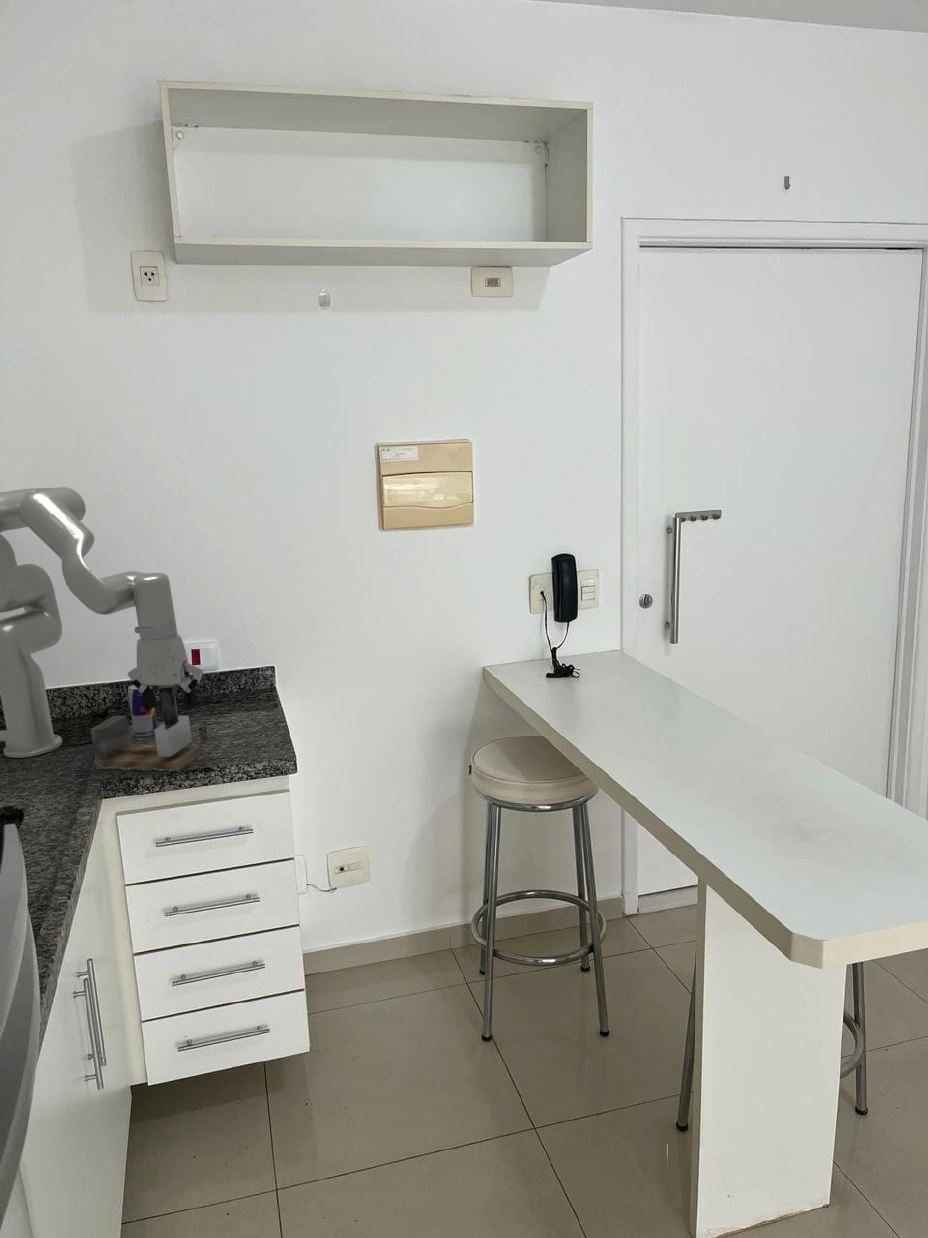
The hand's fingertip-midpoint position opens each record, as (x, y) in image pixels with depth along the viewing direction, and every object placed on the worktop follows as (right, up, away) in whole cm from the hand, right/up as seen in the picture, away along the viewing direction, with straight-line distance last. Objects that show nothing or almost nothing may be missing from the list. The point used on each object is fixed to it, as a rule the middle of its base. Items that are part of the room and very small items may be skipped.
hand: (170, 708), depth 202 cm
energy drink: (-13, -8, +23) cm, 28 cm away
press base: (-6, -12, +5) cm, 14 cm away
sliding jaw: (0, -9, +2) cm, 9 cm away
